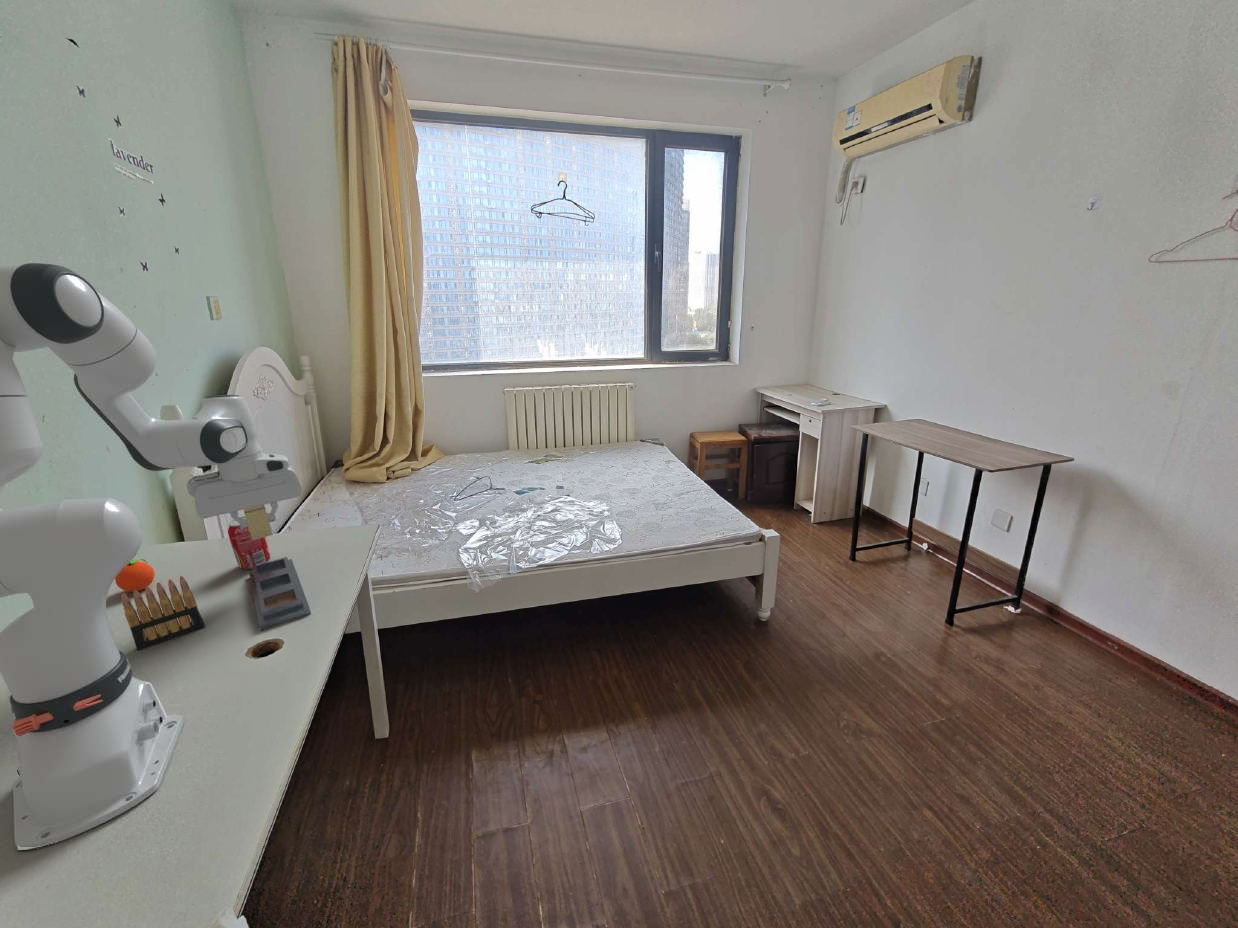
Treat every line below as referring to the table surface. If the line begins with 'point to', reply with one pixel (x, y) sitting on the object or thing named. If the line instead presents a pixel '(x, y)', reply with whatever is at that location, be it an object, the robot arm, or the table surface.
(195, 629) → the ammunition clip
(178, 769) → the table surface
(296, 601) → the slotted tray
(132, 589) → the clementine
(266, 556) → the soda can
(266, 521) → the tan rectangular block
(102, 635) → the robot arm
